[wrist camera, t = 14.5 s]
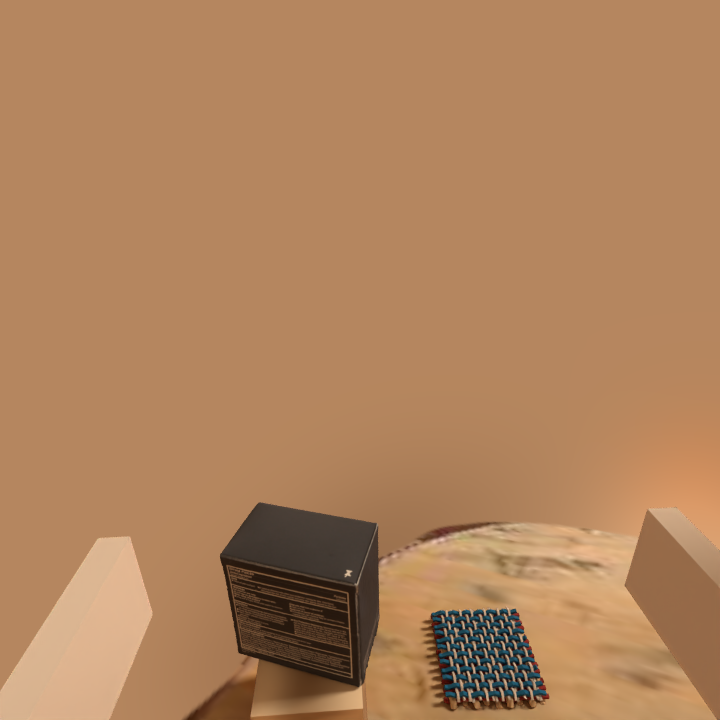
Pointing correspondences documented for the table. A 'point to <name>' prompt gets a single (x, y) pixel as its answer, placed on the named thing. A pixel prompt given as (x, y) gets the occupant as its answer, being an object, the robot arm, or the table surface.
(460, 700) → the woven mat
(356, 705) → the tower top
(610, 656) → the table surface
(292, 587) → the small box
